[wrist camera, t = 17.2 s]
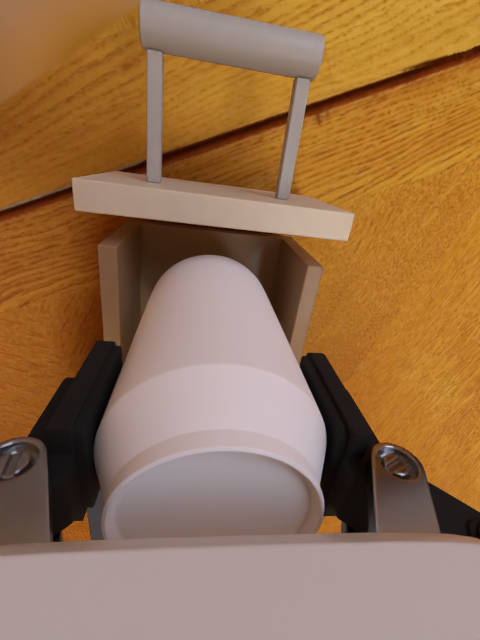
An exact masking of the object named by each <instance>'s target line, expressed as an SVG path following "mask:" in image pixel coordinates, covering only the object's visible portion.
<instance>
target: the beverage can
mask: <svg viewBox="0 0 480 640" xmlns="http://www.w3.org/2000/svg"><path fill="white" fill-rule="evenodd" d="M326 446H327V435H326V428H325V424H324V421H323V418H322V415H321V413H320V411H319V409H318V406H317V404H316V402H315V400H314V398H313V395H312V393H311V391H310V389H309V387H308V384H307V382H306V380H305V378H304V376H303V373H302V371H301V369H300V367H299V365H298V362H297V360H296V358H295V356H294V354H293V351H292V349H291V347H290V345H289V343H288V340H287V338H286V336H285V334H284V332H283V329H282V327H281V325H280V323H279V321H278V319H277V316H276V314H275V312H274V310H273V308H272V305H271V303H270V301H269V299H268V297H267V295H266V293H265V291H264V289H263V287H262V285H261V283H260V282H259V280H258V279H257V278H256V276H255V275H254V274H253V273H252V272H251V271H250V270H249V269H248V268H246V267H245V266H244V265H242V264H241V263H239V262H237V261H235V260H233V259H230V258H227V257H223V256H218V255H199V256H194V257H190V258H187V259H185V260H182V261H180V262H178V263H177V264H175V265H174V266H172V267H171V268H170V269H168V270H167V271H166V272H165V273H164V274H163V275H162V277H161V278H160V279H159V280H158V282H157V284H156V285H155V287H154V289H153V291H152V293H151V296H150V298H149V301H148V303H147V306H146V308H145V311H144V313H143V316H142V318H141V321H140V323H139V326H138V328H137V331H136V333H135V336H134V338H133V341H132V344H131V346H130V349H129V351H128V354H127V356H126V359H125V361H124V364H123V366H122V369H121V371H120V374H119V377H118V379H117V382H116V384H115V387H114V389H113V392H112V394H111V397H110V399H109V402H108V405H107V407H106V410H105V412H104V415H103V417H102V420H101V422H100V425H99V428H98V430H97V434H96V437H95V442H94V464H95V468H96V472H97V476H98V480H99V483H100V487H101V491H102V494H103V498H104V502H105V505H104V508H103V512H102V517H101V530H102V535H103V538H104V540H115V539H145V538H175V537H210V536H245V535H283V534H316V533H317V531H318V529H319V527H320V525H321V523H322V520H323V516H324V508H325V504H324V497H323V493H322V490H321V488H320V481H321V476H322V470H323V465H324V459H325V454H326Z"/></svg>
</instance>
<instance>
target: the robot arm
mask: <svg viewBox="0 0 480 640" xmlns="http://www.w3.org/2000/svg"><path fill="white" fill-rule="evenodd" d="M299 367H300V369H301V371H302V373H303V376H304V378H305V380H306V382H307V384H308V387H309V389H310V391H311V393H312V395H313V398H314V400H315V402H316V404H317V406H318V409H319V411H320V413H321V415H322V418H323V421H324V424H325V428H326V435H327V446H326V454H325V459H324V465H323V470H322V476H321V481H320V488H321V490H322V493H323V497H324V504H325V508H324V516H337V518H338V519H340V520H341V521H342V523H341V533H328V534H283V535H245V536H210V537H175V538H145V539H115V540H85V541H63V538H62V530H63V529H65V528H66V527H67V526H69V525H70V524H72V522H73V521H83V519H84V516H85V513H86V510H87V508H93V507H94V505H95V503H96V499H97V496H98V493H99V490H100V483H99V480H98V476H97V472H96V468H95V464H94V442H95V437H96V434H97V430H98V428H99V425H100V422H101V420H102V417H103V415H104V412H105V410H106V407H107V405H108V402H109V399H110V397H111V394H112V392H113V389H114V387H115V384H116V382H117V379H118V377H119V374H120V371H121V369H122V348H121V346H116V343H115V341H99V340H98V341H97V342H96V343H95V345H94V346H93V348H92V350H91V352H90V353H89V355H88V357H87V358H86V360H85V362H84V363H83V365H82V367H81V368H80V370H79V372H78V374H77V375H76V377H75V378H65V379H64V380H63V382H62V383H61V385H60V386H59V388H58V390H57V391H56V393H55V394H54V396H53V397H52V399H51V401H50V402H49V404H48V405H47V407H46V408H45V410H44V412H43V413H42V415H41V416H40V418H39V419H38V421H37V423H36V424H35V426H34V427H33V429H32V430H31V432H30V434H29V435H28V437H18V438H13V439H10V440H7V441H4V442H1V443H0V640H480V512H478V511H476V510H475V509H473V508H471V507H470V506H468V505H466V504H465V503H463V502H461V501H460V500H458V499H456V498H454V497H453V496H451V495H449V494H448V493H446V492H444V491H443V490H441V489H439V488H437V487H436V486H434V485H432V484H431V483H429V482H428V481H427V477H426V474H425V470H424V468H423V466H422V464H421V463H420V461H419V460H418V459H417V458H416V457H415V456H414V455H413V454H412V453H411V452H409V451H408V450H406V449H404V448H403V447H400V446H398V445H396V444H392V443H379V441H378V439H377V438H376V436H375V434H374V433H373V431H372V430H371V428H370V426H369V425H368V423H367V421H366V420H365V418H364V417H363V415H362V413H361V412H360V410H359V408H358V407H357V405H356V404H355V402H354V400H353V399H352V397H351V395H350V394H349V392H348V391H347V390H346V389H345V387H344V386H343V384H342V382H341V381H340V379H339V377H338V376H337V374H336V373H335V371H334V369H333V368H332V366H331V364H330V363H329V361H328V359H327V358H326V356H325V355H324V354H322V353H307V355H306V356H303V357H302V358H301V362H300V366H299Z"/></svg>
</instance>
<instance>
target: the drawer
mask: <svg viewBox="0 0 480 640" xmlns="http://www.w3.org/2000/svg"><path fill="white" fill-rule="evenodd" d="M139 31H140V40H141V45H142V48H143V49H144V50H146V51H147V175H143V174H135V173H128V172H120V171H113V172H107V173H101V174H94V175H88V176H82V177H75V178H72V190H73V200H74V210H75V211H81V212H89V213H98V214H107V215H116V216H125V217H134V218H143V219H152V220H161V221H170V222H179V223H188V224H196V225H205V226H214V227H223V228H232V229H241V230H250V231H259V232H268V233H277V234H286V235H295V236H303V237H312V238H321V239H330V240H339V241H348V237H349V234H350V230H351V226H352V223H353V219H354V216H355V214H354V213H352V212H349V211H346V210H344V209H341V208H338V207H336V206H333V205H330V204H328V203H325V202H322V201H320V200H317V199H314V198H312V197H309V196H303V195H295V194H290V189H291V184H292V179H293V173H294V168H295V162H296V157H297V151H298V146H299V141H300V135H301V130H302V124H303V119H304V113H305V108H306V102H307V97H308V92H309V86H310V81H313V80H314V79H315V78H316V76H317V74H318V72H319V69H320V66H321V62H322V58H323V54H324V47H325V38H324V35H322V34H317V33H313V32H308V31H303V30H298V29H293V28H289V27H284V26H279V25H274V24H270V23H265V22H260V21H255V20H251V19H246V18H241V17H236V16H231V15H227V14H222V13H217V12H212V11H208V10H203V9H198V8H193V7H188V6H184V5H179V4H174V3H169V2H165V1H160V0H140V3H139ZM163 54H168V55H173V56H179V57H184V58H189V59H195V60H200V61H205V62H211V63H216V64H221V65H227V66H232V67H238V68H243V69H248V70H254V71H259V72H264V73H270V74H275V75H280V76H286V77H291V78H296V79H295V80H294V83H293V89H292V95H291V101H290V107H289V113H288V119H287V125H286V131H285V137H284V143H283V149H282V155H281V161H280V168H279V174H278V180H277V186H276V192H272V191H264V190H257V189H249V188H242V187H234V186H226V185H219V184H211V183H204V182H196V181H188V180H181V179H173V178H166V177H162V131H163V77H164V56H163ZM97 250H98V265H99V279H100V294H101V309H102V323H103V338H104V341H115V343H116V346H121V348H122V366H123V364H124V361H125V359H126V356H127V354H128V351H129V349H130V346H131V344H132V341H133V338H134V336H135V333H136V331H137V328H138V326H139V323H140V321H141V318H142V316H143V313H144V311H145V308H146V306H147V303H148V301H149V298H150V296H151V293H152V291H153V289H154V287H155V285H156V284H157V282H158V280H159V279H160V278H161V277H162V275H163V274H164V273H165V272H166V271H167V270H168V269H170V268H171V267H172V266H174V265H175V264H177V263H178V262H180V261H182V260H185V259H187V258H190V257H194V256H199V255H218V256H223V257H227V258H230V259H233V260H235V261H237V262H239V263H241V264H242V265H244V266H245V267H246V268H248V269H249V270H250V271H251V272H252V273H253V274H254V275H255V276H256V278H257V279H258V280H259V282H260V283H261V285H262V287H263V289H264V291H265V293H266V295H267V297H268V299H269V301H270V303H271V305H272V308H273V310H274V312H275V314H276V316H277V319H278V321H279V323H280V325H281V327H282V329H283V332H284V334H285V336H286V338H287V340H288V343H289V345H290V347H291V349H292V351H293V354H294V356H295V358H296V360H297V362H298V365H299V363H300V359H301V355H302V351H303V347H304V343H305V339H306V335H307V331H308V327H309V323H310V319H311V315H312V311H313V307H314V303H315V299H316V295H317V291H318V287H319V283H320V279H321V275H322V271H323V267H322V266H321V265H320V264H319V263H318V262H317V261H316V260H315V259H314V258H313V257H312V256H311V255H310V254H308V253H307V252H306V251H305V250H304V249H303V248H302V247H301V246H300V245H299V244H298V243H297V242H295V241H294V240H293V239H292V238H291V237H285V236H276V235H267V234H258V233H249V232H240V231H231V230H222V229H213V228H204V227H195V226H186V225H177V224H168V223H159V222H150V221H141V220H132V219H128V220H127V221H126V222H125V223H124V224H122V225H121V226H120V227H119V228H117V229H116V230H115V231H114V232H113V233H111V234H110V235H109V236H108V237H107V238H105V239H104V240H103V241H102V242H100V243H99V244H98V245H97Z"/></svg>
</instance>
